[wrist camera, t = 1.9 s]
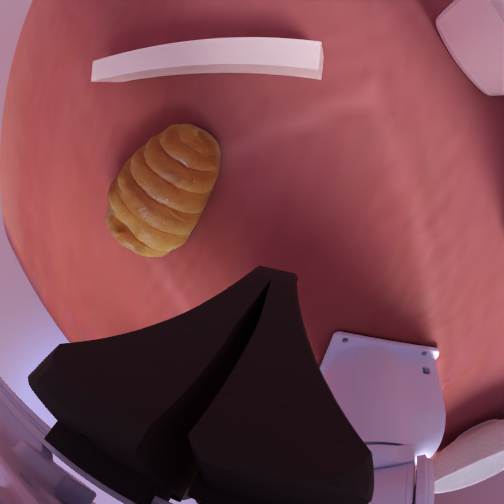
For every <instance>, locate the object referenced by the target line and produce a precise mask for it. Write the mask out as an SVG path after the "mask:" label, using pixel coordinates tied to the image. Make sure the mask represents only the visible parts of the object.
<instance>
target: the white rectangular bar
mask: <svg viewBox="0 0 504 504" xmlns="http://www.w3.org/2000/svg"><path fill="white" fill-rule="evenodd" d="M323 59H324V55H323V50H322V44H321V42H319V41H311V40H301V39H289V38H269V37H233V38H214V39H201V40H191V41H183V42H176V43H169V44H163V45H157V46H152V47H146V48H142V49H137V50H132V51H128V52H124V53H120V54H116V55H113V56H109V57H105V58H102V59H99V60H95V61H93V67H92V78H91V82H124V81H130V80H137V79H144V78H151V77H160V76H170V75H182V74H198V73H256V74H273V75H285V76H295V77H304V78H311V79H319V80H321V79H322V69H323Z"/></svg>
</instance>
